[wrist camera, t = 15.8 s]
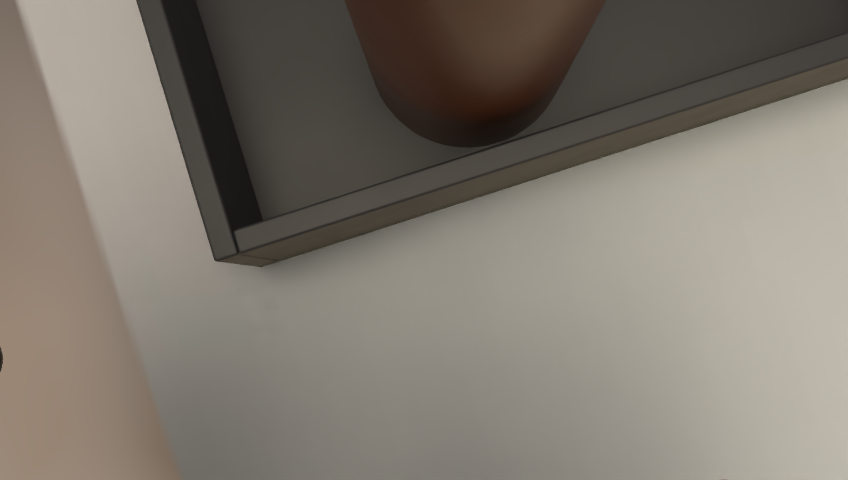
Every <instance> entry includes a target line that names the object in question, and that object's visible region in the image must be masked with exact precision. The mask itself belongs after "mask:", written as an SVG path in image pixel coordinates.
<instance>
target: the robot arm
mask: <svg viewBox="0 0 848 480" xmlns="http://www.w3.org/2000/svg"><path fill="white" fill-rule="evenodd" d="M2 363H3V355H2V351H1V348H0V371H1V368H2Z"/></svg>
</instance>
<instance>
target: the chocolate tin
mask: <svg viewBox="0 0 848 480" xmlns="http://www.w3.org/2000/svg"><path fill="white" fill-rule="evenodd" d="M344 1H345V4H346V6H347V9H348V12H349V14H350V17H351V20H352V23H353V25H354V28H355V31H356V33H357V36H358V39H359V42H360V44H361V47H362V50H363V52H364V55H365V58H366V60H367V63H368V66H369V69H370V71H371V74H372V77H373V79H374V82H375V84H376V87H377V89H378V92H379V94H380V96H381V97H382V99H383V101H384V102H385V104H386V106H387V107H388V108H389V109H390V111H391V112H392V113H393V115H394V116H395V117H396V118H398V119H399V120H400V121H401V122H402V123H403V124H404V125H405V126H407V127H408V128H409V129H411V130H412V131H413V132H415V133H417V134H419V135H420V136H422V137H424V138H426V139H429V140H431V141H434V142H436V143H440V144H444V145H448V146H455V147H480V146H487V145H491V144H495V143H498V142H501V141H504V140H506V139H508V138H511V137H513V136H515V135H516V134H518V133H520V132H522V131H523V130H525V129H526V128H527V127H529V126H530V125H531V124H532V123H534V122H535V121H536V120H537V119H538V118H539V117H540V116H541V115H542V114H543V112H544V111H545V110H546V109H547V107H548V106H549V105H550V103H551V102H552V100H553V98H554V96H555V95H556V93H557V91H558V89H559V87H560V85H561V84H562V82H563V80H564V78H565V76H566V74H567V72H568V71H569V69H570V67H571V65H572V63H573V61H574V59H575V57H576V56H577V54H578V52H579V50H580V48H581V46H582V44H583V42H584V41H585V39H586V37H587V35H588V33H589V31H590V29H591V27H592V26H593V24H594V22H595V20H596V18H597V16H598V14H599V12H600V11H601V9H602V7H603V5H604V3H605V1H606V0H344Z"/></svg>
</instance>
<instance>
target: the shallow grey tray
mask: <svg viewBox="0 0 848 480" xmlns="http://www.w3.org/2000/svg"><path fill="white" fill-rule="evenodd" d="M136 1H137V4H138V7H139V11H140V14H141V17H142V21H143V24H144V27H145V31H146V34H147V37H148V41H149V44H150V47H151V51H152V54H153V57H154V61H155V64H156V67H157V71H158V74H159V77H160V81H161V84H162V87H163V90H164V94H165V97H166V100H167V104H168V107H169V110H170V114H171V117H172V120H173V124H174V127H175V130H176V134H177V137H178V140H179V144H180V147H181V150H182V154H183V157H184V160H185V164H186V167H187V170H188V174H189V177H190V180H191V184H192V187H193V190H194V194H195V197H196V200H197V204H198V207H199V210H200V213H201V217H202V220H203V223H204V227H205V230H206V233H207V237H208V240H209V243H210V247H211V250H212V253H213V257H214V260H215V261H218V262H226V263H234V264H242V265H250V266H257V267H263V266H266V265H269V264H272V263H275V262H278V261H281V260H285V259H288V258H291V257H294V256H297V255H300V254H303V253H306V252H309V251H313V250H316V249H319V248H322V247H325V246H328V245H331V244H334V243H337V242H341V241H344V240H347V239H350V238H353V237H356V236H359V235H362V234H365V233H369V232H372V231H375V230H378V229H381V228H384V227H387V226H390V225H393V224H397V223H400V222H403V221H406V220H409V219H412V218H415V217H418V216H421V215H424V214H428V213H431V212H434V211H437V210H440V209H443V208H446V207H449V206H452V205H456V204H459V203H462V202H465V201H468V200H471V199H474V198H477V197H480V196H484V195H487V194H490V193H493V192H496V191H499V190H502V189H505V188H508V187H512V186H515V185H518V184H521V183H524V182H527V181H530V180H533V179H536V178H540V177H543V176H546V175H549V174H552V173H555V172H558V171H561V170H564V169H567V168H571V167H574V166H577V165H580V164H583V163H586V162H589V161H592V160H595V159H599V158H602V157H605V156H608V155H611V154H614V153H617V152H620V151H623V150H627V149H630V148H633V147H636V146H639V145H642V144H645V143H648V142H651V141H655V140H658V139H661V138H664V137H667V136H670V135H673V134H676V133H679V132H683V131H686V130H689V129H692V128H695V127H698V126H701V125H704V124H707V123H710V122H714V121H717V120H720V119H723V118H726V117H729V116H732V115H735V114H738V113H742V112H745V111H748V110H751V109H754V108H757V107H760V106H763V105H766V104H770V103H773V102H776V101H779V100H782V99H785V98H788V97H791V96H794V95H798V94H801V93H804V92H807V91H810V90H813V89H816V88H819V87H822V86H826V85H829V84H832V83H835V82H838V81H841V80H844V79H847V78H848V0H606V1H605V3H604V5H603V7H602V9H601V11H600V12H599V14H598V16H597V18H596V20H595V22H594V24H593V26H592V27H591V29H590V31H589V33H588V35H587V37H586V39H585V41H584V42H583V44H582V46H581V48H580V50H579V52H578V54H577V56H576V57H575V59H574V61H573V63H572V65H571V67H570V69H569V71H568V72H567V74H566V76H565V78H564V80H563V82H562V84H561V85H560V87H559V89H558V91H557V93H556V95H555V96H554V98H553V100H552V102H551V103H550V105H549V106H548V107H547V109H546V110H545V111H544V112H543V114H542V115H541V116H540V117H539V118H538V119H537V120H536V121H535V122H534V123H532V124H531V125H530V126H529V127H527V128H526V129H525V130H523V131H522V132H520V133H518V134H516V135H515V136H513V137H511V138H508V139H506V140H504V141H501V142H498V143H495V144H491V145H487V146H480V147H455V146H448V145H444V144H440V143H436V142H434V141H431V140H429V139H426V138H424V137H422V136H420V135H419V134H417V133H415V132H413V131H412V130H411V129H409V128H408V127H407V126H405V125H404V124H403V123H402V122H401V121H400V120H399V119H398V118H396V117H395V116H394V115H393V113H392V112H391V111H390V109H389V108H388V107H387V106H386V104H385V102H384V101H383V99H382V97H381V96H380V94H379V92H378V89H377V87H376V84H375V82H374V79H373V77H372V74H371V71H370V69H369V66H368V63H367V60H366V58H365V55H364V52H363V50H362V47H361V44H360V42H359V39H358V36H357V33H356V31H355V28H354V25H353V23H352V20H351V17H350V14H349V12H348V9H347V6H346V4H345V1H344V0H136Z"/></svg>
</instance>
